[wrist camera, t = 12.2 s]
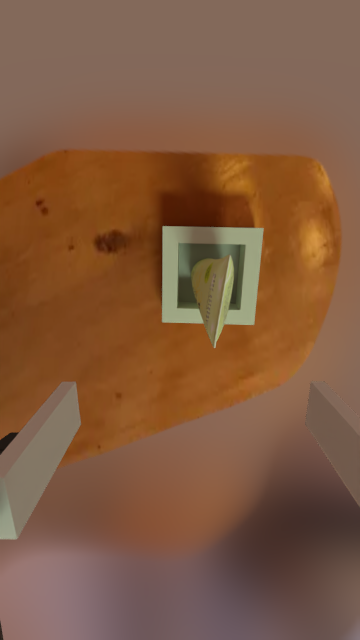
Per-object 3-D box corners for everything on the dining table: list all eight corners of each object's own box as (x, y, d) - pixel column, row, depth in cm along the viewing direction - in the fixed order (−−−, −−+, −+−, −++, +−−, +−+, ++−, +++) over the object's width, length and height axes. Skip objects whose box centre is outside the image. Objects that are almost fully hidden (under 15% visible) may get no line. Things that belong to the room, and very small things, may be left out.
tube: (181, 267, 41) (174, 292, 22) (211, 246, 40) (231, 254, 21) (202, 299, 42) (214, 349, 23) (232, 280, 41) (268, 315, 22)
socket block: (164, 313, 43) (162, 322, 39) (165, 227, 40) (162, 226, 35) (247, 316, 43) (254, 324, 38) (255, 229, 39) (263, 228, 35)
